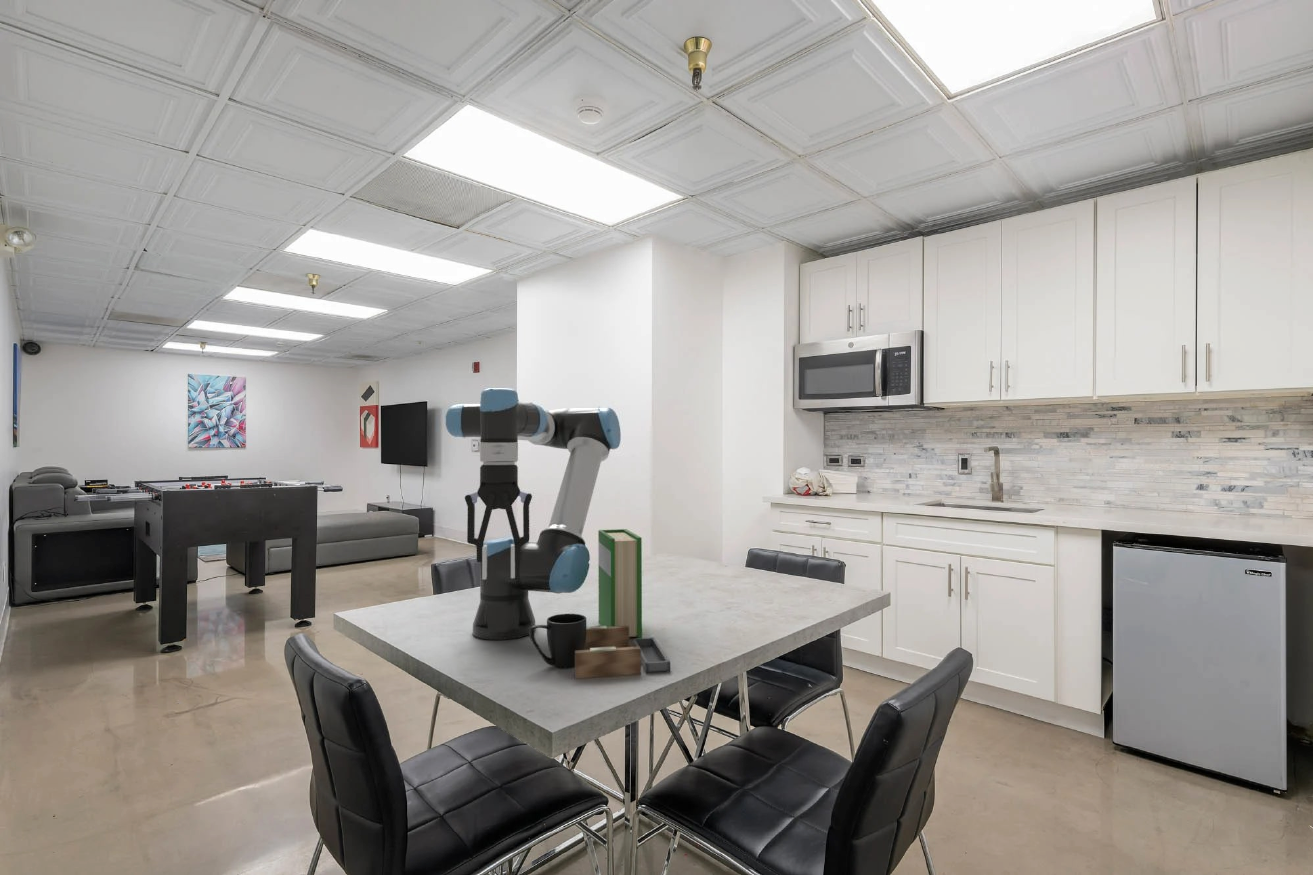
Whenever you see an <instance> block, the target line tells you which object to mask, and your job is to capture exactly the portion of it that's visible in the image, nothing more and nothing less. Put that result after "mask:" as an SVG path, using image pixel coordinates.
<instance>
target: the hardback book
mask: <svg viewBox="0 0 1313 875" xmlns="http://www.w3.org/2000/svg"><path fill="white" fill-rule="evenodd" d="M597 534H598V542H597V544H598V548H597V549H598V559H597V560H598V623H599V626H606V627H615V626H628V627H629V638H630V637H635V638H636V637H637V638H643V604H642V603H643V601H642V600H643V599H642V598H643V596H642V595H643V590H642V589H643V585H642V583H643V580H642V577H643V573H642V572H643V569H642V568H643V567H642V566H643V564H642V563H643V562H642V561H643V558H642V553H643V552H642V551H643V550H642V548H643V547H642V546H643V543H642V540H643V538H642V537H641V536H639V535H638V534H636V533H633V531H630V530H629V529H626V528H622V529H619V528H618V529H599V530H598V533H597ZM637 638H636V639H637Z"/></svg>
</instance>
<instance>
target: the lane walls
mask: <svg viewBox="0 0 1313 875" xmlns="http://www.w3.org/2000/svg"><path fill="white" fill-rule="evenodd" d="M641 674H642V665H641V648H640V646H638V647H632V646H630V637H629V627H628V626H615V627H606V626H601V625H594V626H593V625H591V626H586V641H585V646H584V650H577V651H575V667H574V679H575V680H576V679H577V680H578V679H589V678H590V679H591V678H593V679H594V678H602V677H603V678H605V677H606V678H607V677H615V676H616V677H618V676H632V675H641Z"/></svg>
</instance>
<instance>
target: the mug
mask: <svg viewBox="0 0 1313 875" xmlns="http://www.w3.org/2000/svg"><path fill="white" fill-rule="evenodd" d="M586 627H587V617H586V616H585V615H583V614H579V613H559V614H555V615H552V616H549V617H548V618H547V619H546V625H545V624H537V625H536V624H535V626H532V627H531V628H530V634H529V638H530V640H531V642H532V644H533V646H534V647H535V649H536V650H537V652H538V653H539V654H540V656H541V658H542V659H543V660H544V662H545V663H546V664H547V665H549V666H554V667H555V668H557V669H573V668H574V669H575V651H577V650H584V646H585V641H586ZM534 629H535V630H536V629H546V638H547V646H548V650H549V654H550V657H549V656H547V655H546V654H545V653H544V652H543V651H542V649H541V647H540V646H539V644H538V643H537V641H536V638H535V634H534V632H535V631H534Z"/></svg>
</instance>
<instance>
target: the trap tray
mask: <svg viewBox="0 0 1313 875" xmlns="http://www.w3.org/2000/svg"><path fill="white" fill-rule="evenodd" d="M631 641H632V646H631V647H638V646H640V648H641V668H642V669H643V671H644V673H645V674H646V673H647V674H657V673H658V674H660V673H668V672H667V671H670V672H671V661H670V660H669V658H668V656H667V655H666V653H665V652H664V650H663V649H662V647H661V646H660V644H659V643H658V641H657V640H656V638H655V637H642V638H632V640H631ZM659 672H660V673H659Z"/></svg>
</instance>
